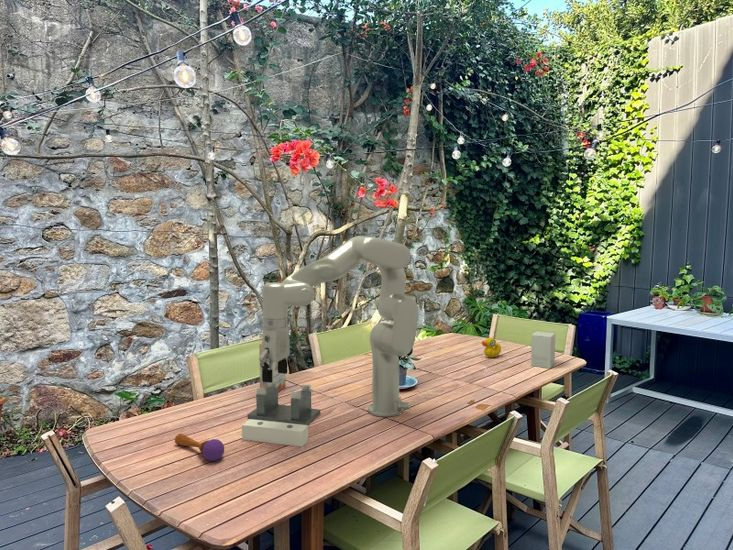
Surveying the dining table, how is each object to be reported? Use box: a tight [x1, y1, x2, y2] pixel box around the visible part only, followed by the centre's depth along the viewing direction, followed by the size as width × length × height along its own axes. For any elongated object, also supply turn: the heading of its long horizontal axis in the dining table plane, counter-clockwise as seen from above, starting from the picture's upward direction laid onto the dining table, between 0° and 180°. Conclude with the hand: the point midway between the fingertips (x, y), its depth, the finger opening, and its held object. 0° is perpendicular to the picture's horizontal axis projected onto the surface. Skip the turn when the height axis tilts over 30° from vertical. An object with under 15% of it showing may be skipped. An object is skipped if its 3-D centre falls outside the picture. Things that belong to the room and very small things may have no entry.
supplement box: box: [530, 330, 556, 369], centre depth 243 cm, size 9×9×15 cm
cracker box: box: [259, 342, 287, 393], centre depth 206 cm, size 14×6×21 cm, turn 168°
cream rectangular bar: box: [241, 419, 309, 447], centre depth 162 cm, size 20×5×5 cm, turn 75°
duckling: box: [481, 337, 502, 359], centre depth 256 cm, size 11×5×10 cm, turn 118°
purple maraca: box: [174, 433, 225, 462], centre depth 153 cm, size 6×6×20 cm
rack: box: [246, 381, 321, 426], centre depth 181 cm, size 22×12×10 cm, turn 72°
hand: (275, 377), depth 161 cm, fingers open, 9 cm apart
